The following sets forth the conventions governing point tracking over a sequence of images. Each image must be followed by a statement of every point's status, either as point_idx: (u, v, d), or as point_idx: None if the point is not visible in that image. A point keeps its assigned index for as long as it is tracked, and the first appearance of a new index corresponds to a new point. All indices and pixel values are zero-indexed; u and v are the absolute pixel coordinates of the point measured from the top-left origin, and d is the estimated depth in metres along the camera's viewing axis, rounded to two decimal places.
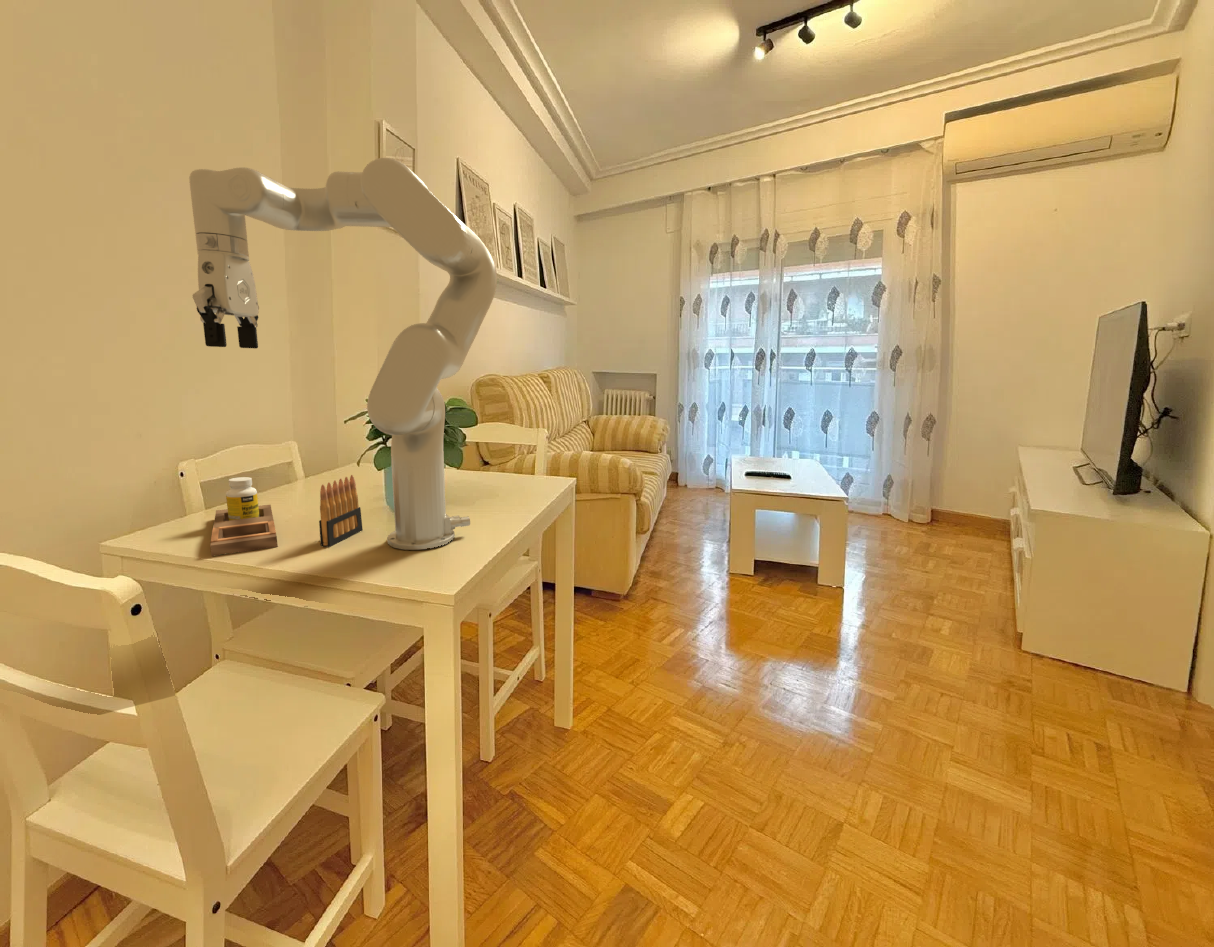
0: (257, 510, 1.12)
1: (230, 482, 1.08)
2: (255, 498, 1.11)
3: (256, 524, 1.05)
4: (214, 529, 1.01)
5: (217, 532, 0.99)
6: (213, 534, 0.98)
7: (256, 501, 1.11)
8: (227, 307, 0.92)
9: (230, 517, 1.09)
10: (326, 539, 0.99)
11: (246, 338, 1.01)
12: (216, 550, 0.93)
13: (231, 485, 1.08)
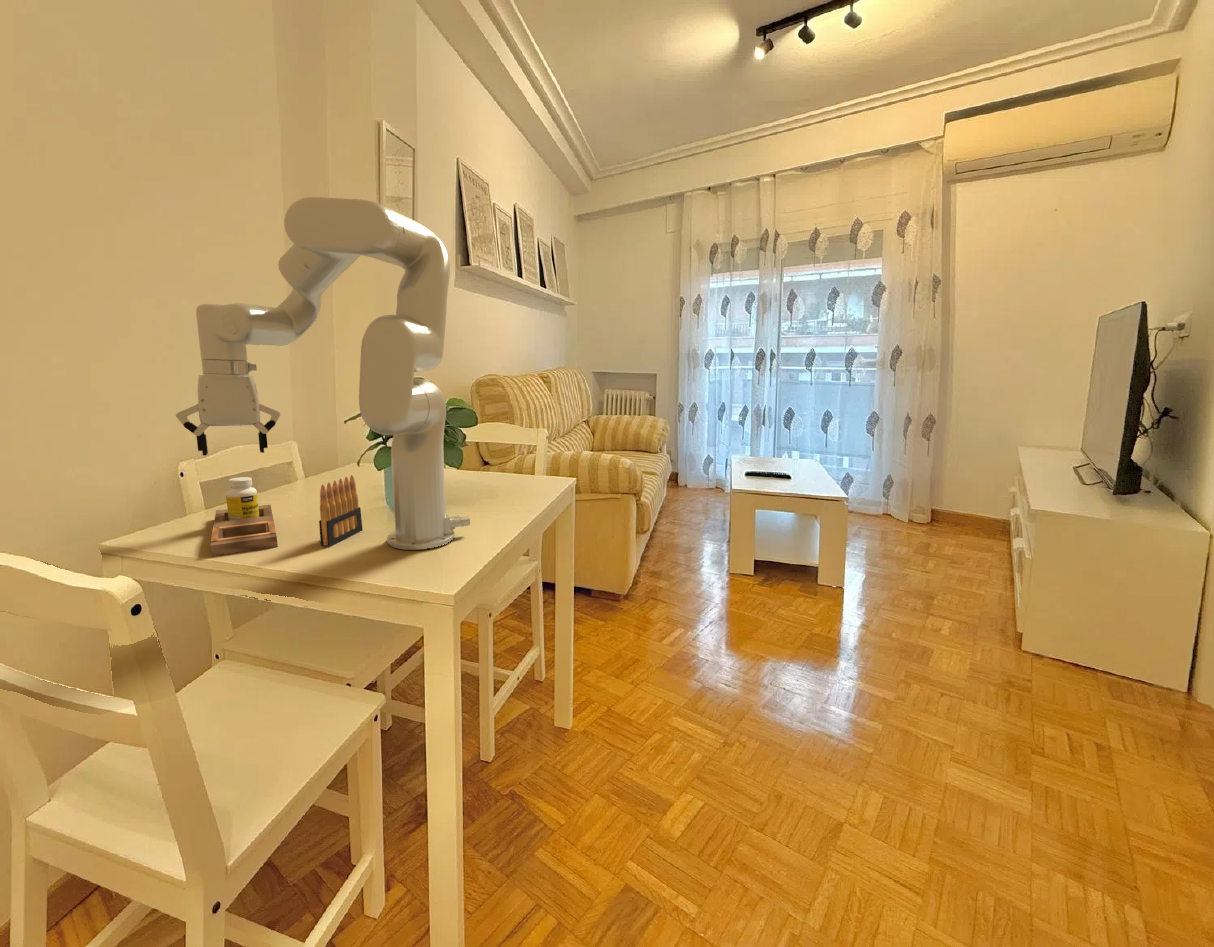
0: (257, 510, 1.12)
1: (230, 482, 1.08)
2: (255, 498, 1.11)
3: (256, 524, 1.05)
4: (214, 529, 1.01)
5: (217, 532, 0.99)
6: (213, 534, 0.98)
7: (256, 501, 1.11)
8: None
9: (230, 517, 1.09)
10: (326, 539, 0.99)
11: (206, 445, 1.06)
12: (216, 550, 0.93)
13: (231, 485, 1.08)
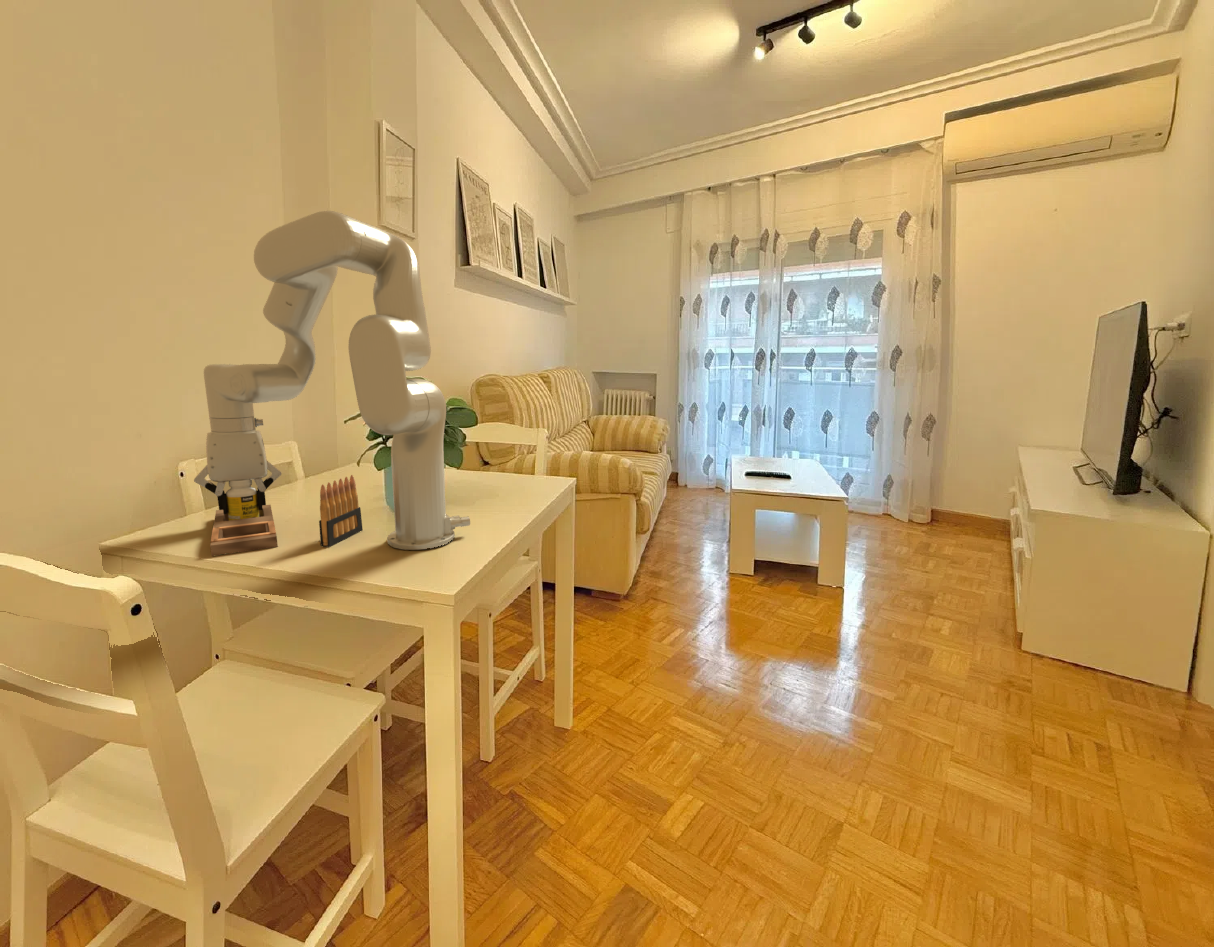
0: (257, 510, 1.12)
1: (230, 482, 1.08)
2: (255, 498, 1.11)
3: (256, 524, 1.05)
4: (214, 529, 1.01)
5: (217, 532, 0.99)
6: (213, 534, 0.98)
7: (256, 501, 1.11)
8: None
9: (230, 517, 1.09)
10: (326, 539, 0.99)
11: None
12: (216, 550, 0.93)
13: (231, 485, 1.08)
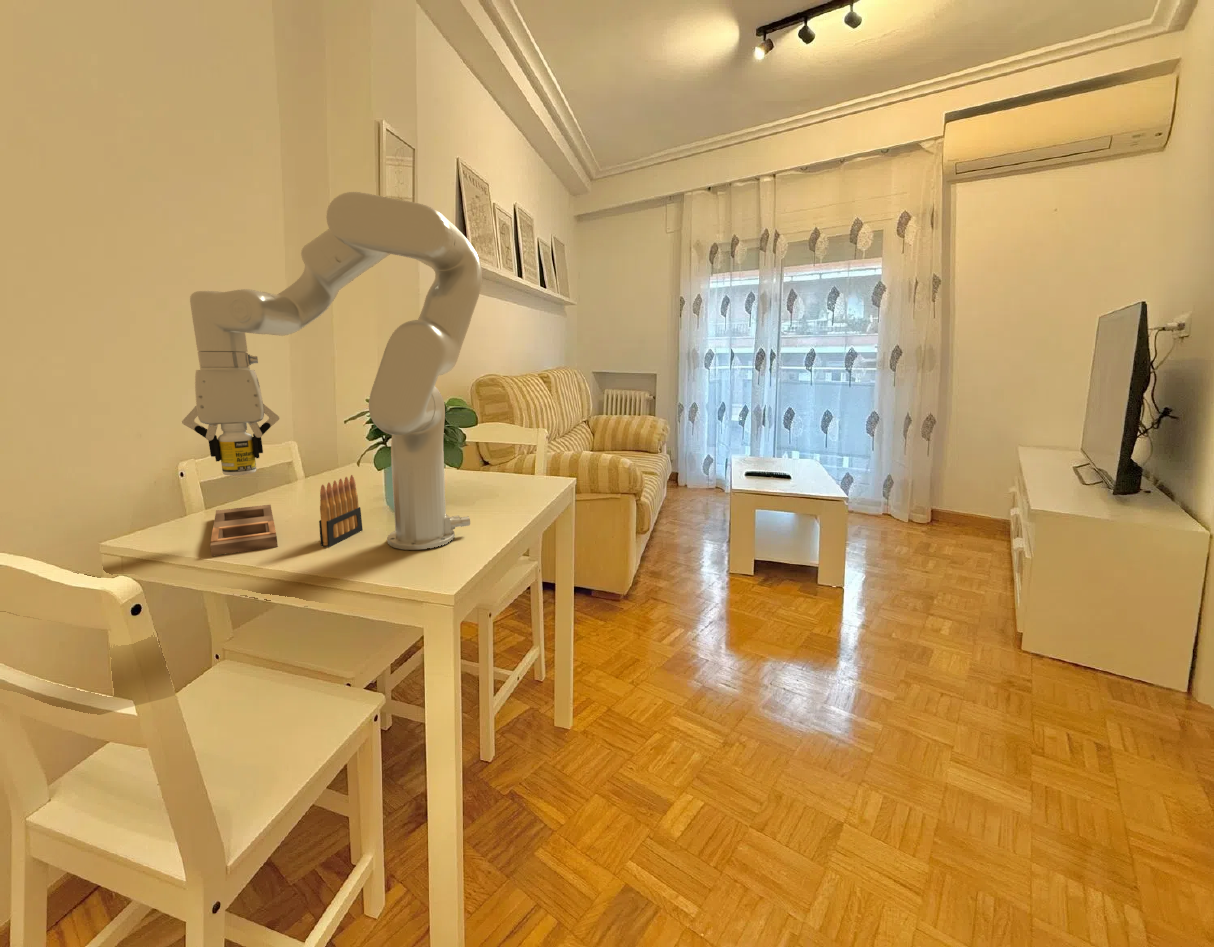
0: (253, 458, 1.01)
1: (222, 425, 0.97)
2: (250, 444, 1.00)
3: (256, 524, 1.05)
4: (214, 529, 1.01)
5: (217, 532, 0.99)
6: (213, 534, 0.98)
7: (252, 448, 1.01)
8: None
9: (223, 464, 0.98)
10: (326, 539, 0.99)
11: (219, 450, 0.99)
12: (216, 550, 0.93)
13: (223, 428, 0.98)
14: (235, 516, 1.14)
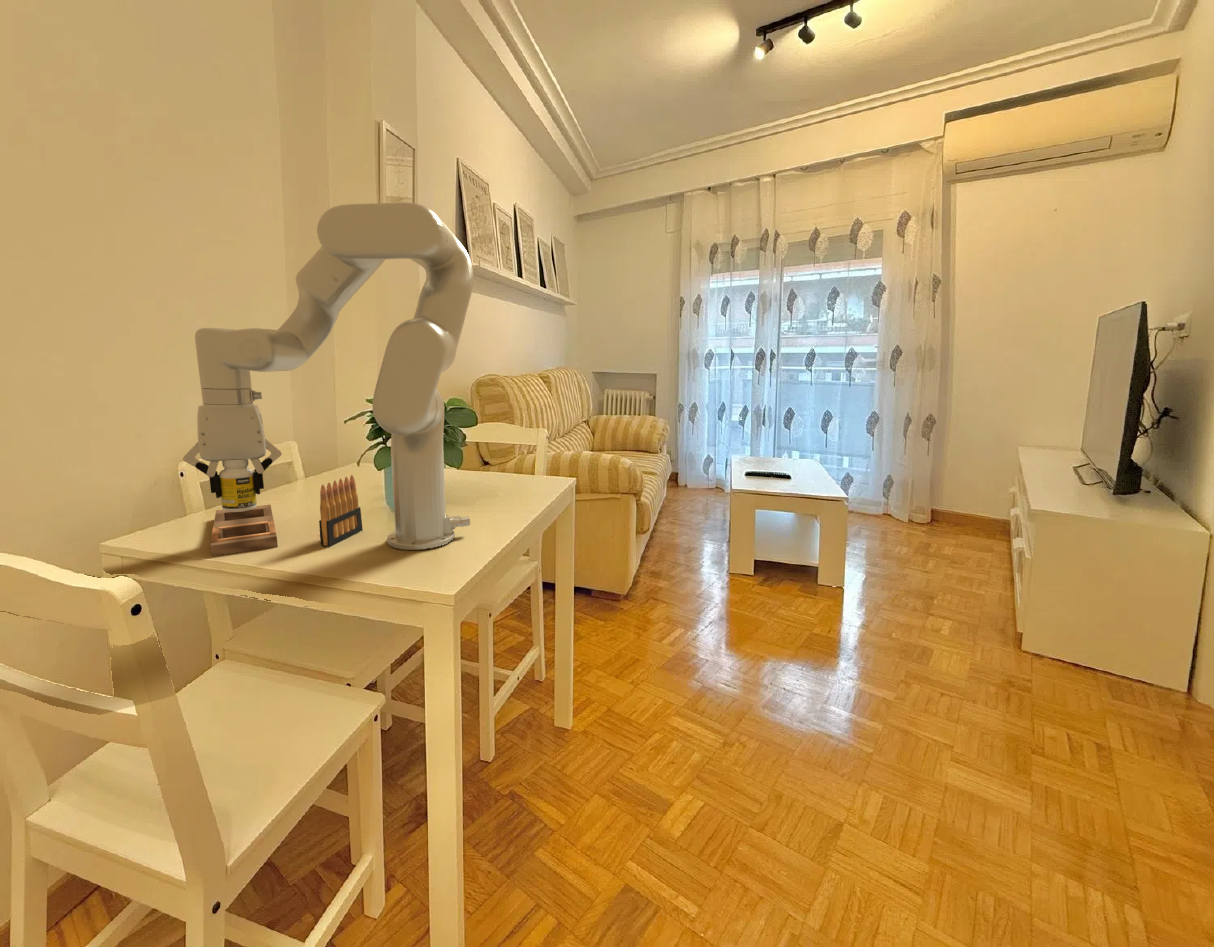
0: (254, 494, 1.00)
1: (224, 462, 0.96)
2: (252, 480, 0.99)
3: (256, 524, 1.05)
4: (214, 529, 1.01)
5: (217, 532, 0.99)
6: (213, 534, 0.98)
7: (253, 484, 0.99)
8: None
9: (223, 501, 0.97)
10: (326, 539, 0.99)
11: None
12: (216, 550, 0.93)
13: (225, 465, 0.96)
14: (235, 516, 1.14)
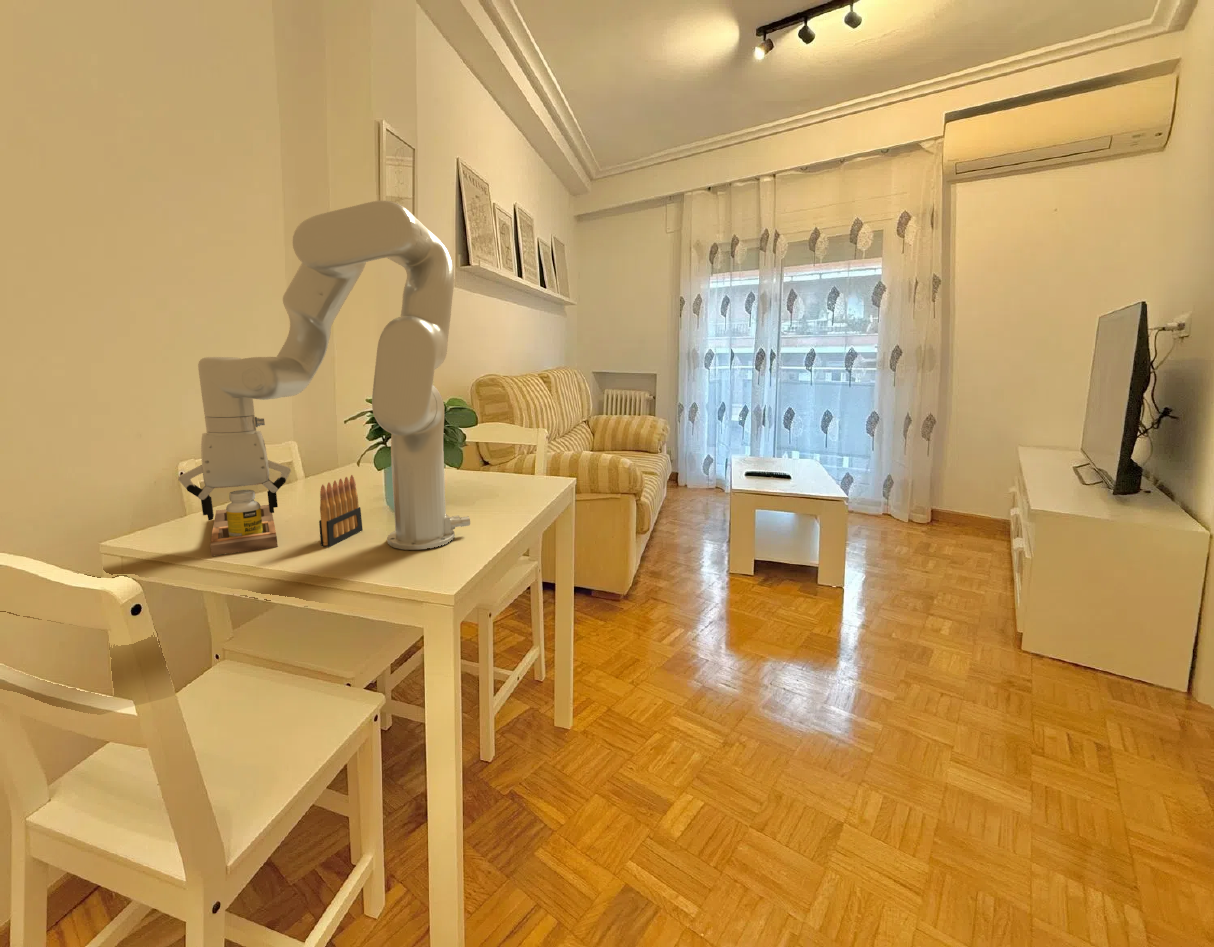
0: (260, 526, 1.01)
1: (231, 496, 0.98)
2: (258, 513, 1.00)
3: None
4: (214, 529, 1.01)
5: (217, 532, 0.99)
6: (213, 534, 0.98)
7: (259, 516, 1.01)
8: None
9: (231, 534, 0.99)
10: (326, 539, 0.99)
11: (212, 508, 0.97)
12: (216, 550, 0.93)
13: (232, 499, 0.98)
14: None
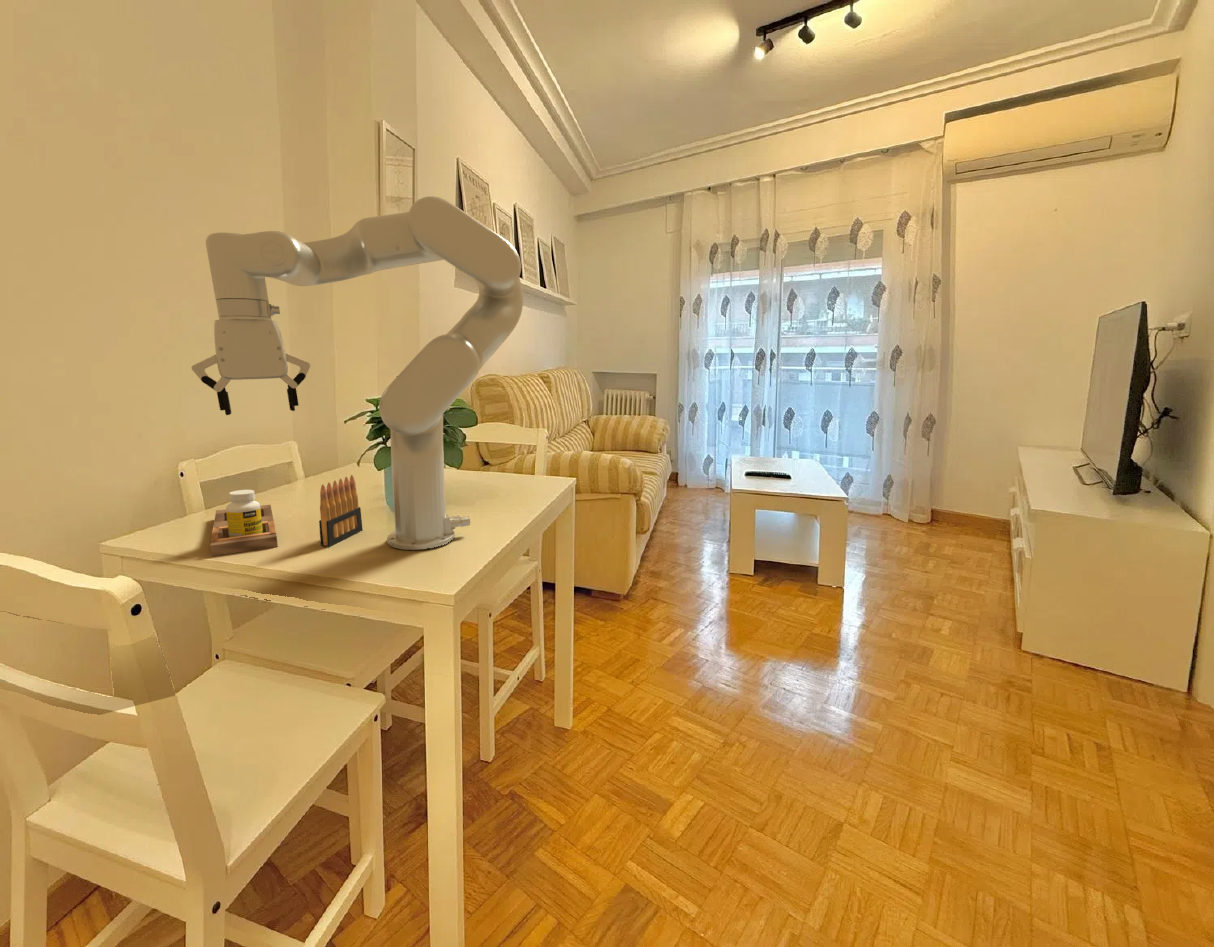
0: (260, 526, 1.01)
1: (231, 496, 0.98)
2: (258, 513, 1.00)
3: None
4: (214, 529, 1.01)
5: (217, 532, 0.99)
6: (213, 534, 0.98)
7: (259, 516, 1.01)
8: None
9: (231, 534, 0.99)
10: (326, 539, 0.99)
11: (229, 403, 0.91)
12: (216, 550, 0.93)
13: (232, 499, 0.98)
14: None
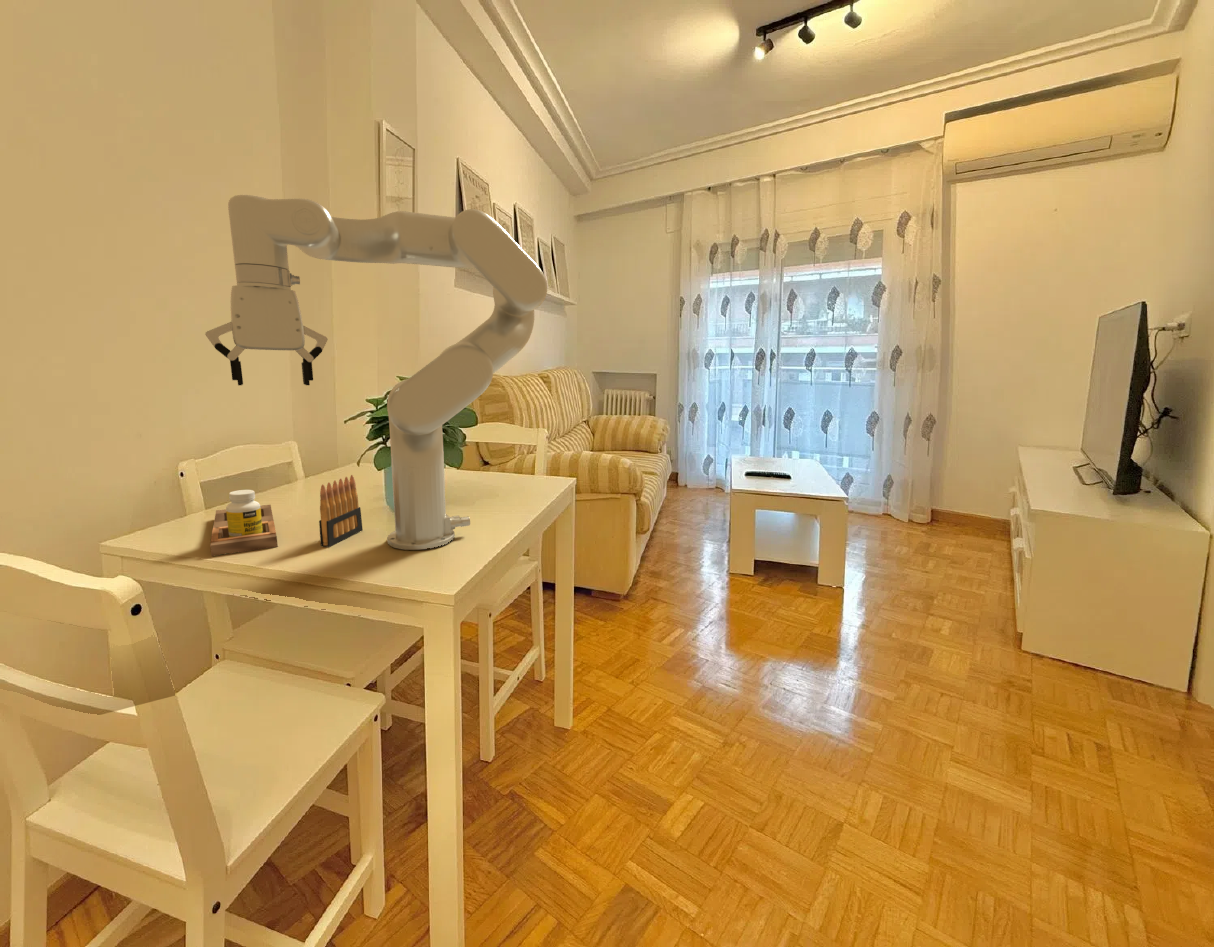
0: (260, 526, 1.01)
1: (231, 496, 0.98)
2: (258, 513, 1.00)
3: None
4: (214, 529, 1.01)
5: (217, 532, 0.99)
6: (213, 534, 0.98)
7: (259, 516, 1.01)
8: None
9: (231, 534, 0.99)
10: (326, 539, 0.99)
11: None
12: (216, 550, 0.93)
13: (232, 499, 0.98)
14: None
